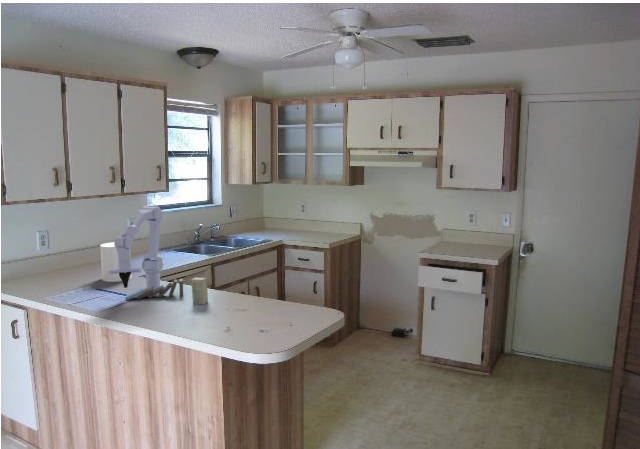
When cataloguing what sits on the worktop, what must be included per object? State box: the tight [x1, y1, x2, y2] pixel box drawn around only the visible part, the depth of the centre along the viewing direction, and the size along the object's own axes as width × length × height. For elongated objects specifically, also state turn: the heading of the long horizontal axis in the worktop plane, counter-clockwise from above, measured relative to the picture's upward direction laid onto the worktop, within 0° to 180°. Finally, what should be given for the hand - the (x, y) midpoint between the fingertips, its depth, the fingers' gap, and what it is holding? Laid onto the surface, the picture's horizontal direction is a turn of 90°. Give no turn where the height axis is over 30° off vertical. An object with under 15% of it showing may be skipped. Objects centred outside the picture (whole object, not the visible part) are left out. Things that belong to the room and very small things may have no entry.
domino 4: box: [157, 281, 173, 299], centre depth 252 cm, size 5×2×8 cm
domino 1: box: [125, 288, 145, 301], centre depth 249 cm, size 5×2×8 cm
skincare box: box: [191, 277, 209, 305], centre depth 241 cm, size 6×4×12 cm
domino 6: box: [178, 278, 184, 298], centre depth 254 cm, size 5×2×8 cm, turn 14°
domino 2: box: [136, 287, 155, 300], centre depth 250 cm, size 5×2×8 cm
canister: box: [99, 241, 133, 283], centre depth 287 cm, size 16×16×20 cm
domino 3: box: [147, 284, 165, 299], centre depth 251 cm, size 5×2×8 cm
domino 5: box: [168, 278, 178, 298], centre depth 253 cm, size 5×2×8 cm, turn 14°
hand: (125, 287), depth 247 cm, fingers closed
